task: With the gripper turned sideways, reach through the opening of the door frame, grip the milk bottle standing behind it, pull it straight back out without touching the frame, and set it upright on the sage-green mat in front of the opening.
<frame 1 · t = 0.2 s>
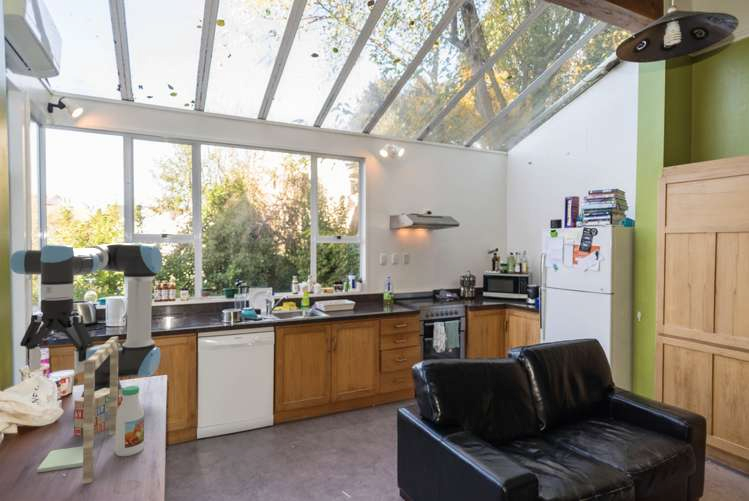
hand: (56, 371, 120), 28 cm above the worktop, tool pointing down, fingers open, 13 cm apart
sage mat: (67, 459, 124), on the worktop
stack of blocks: (107, 424, 149), on the worktop
door frame: (102, 454, 127), on the worktop
milk bottle: (129, 451, 130), on the worktop
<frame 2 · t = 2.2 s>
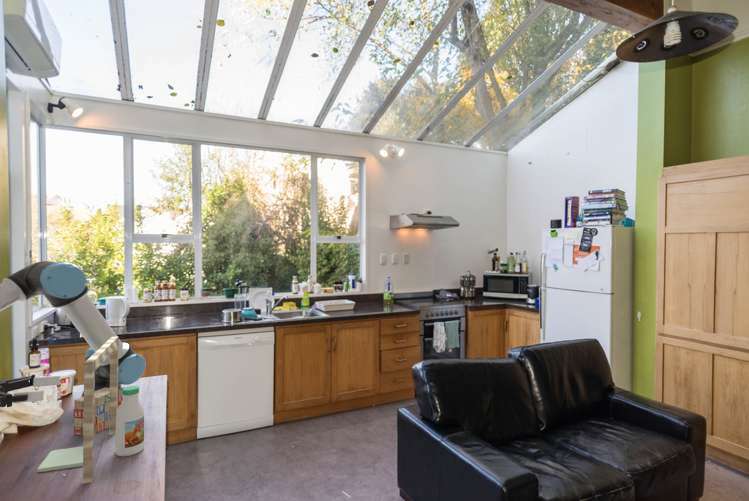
hand: (52, 387, 122), 22 cm above the worktop, tool horizontal, fingers open, 13 cm apart
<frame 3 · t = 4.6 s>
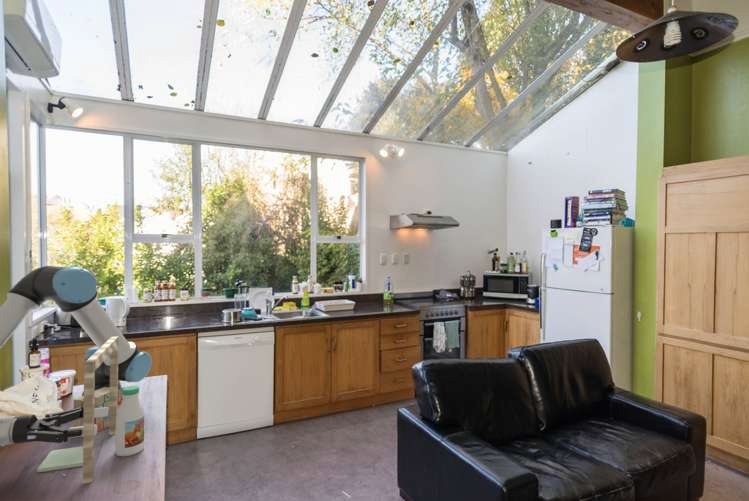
hand: (102, 420, 126), 11 cm above the worktop, tool horizontal, fingers open, 13 cm apart
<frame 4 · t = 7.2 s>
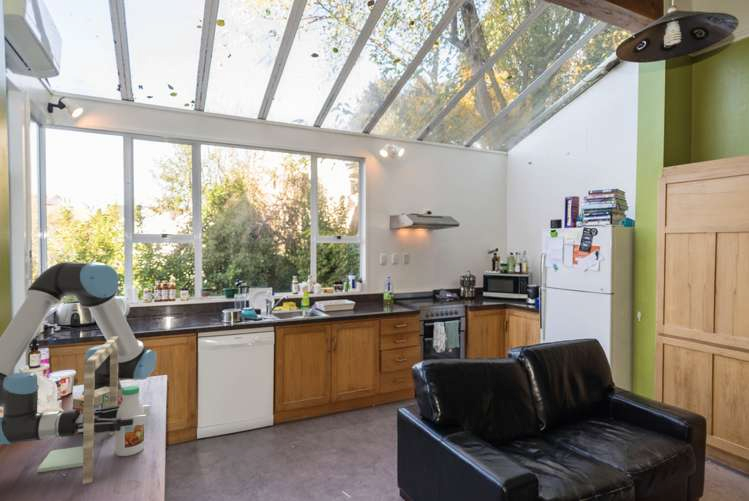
hand: (147, 414, 131), 11 cm above the worktop, tool horizontal, fingers closed on milk bottle, 7 cm apart
milk bottle: (129, 451, 130), on the worktop, touching gripper
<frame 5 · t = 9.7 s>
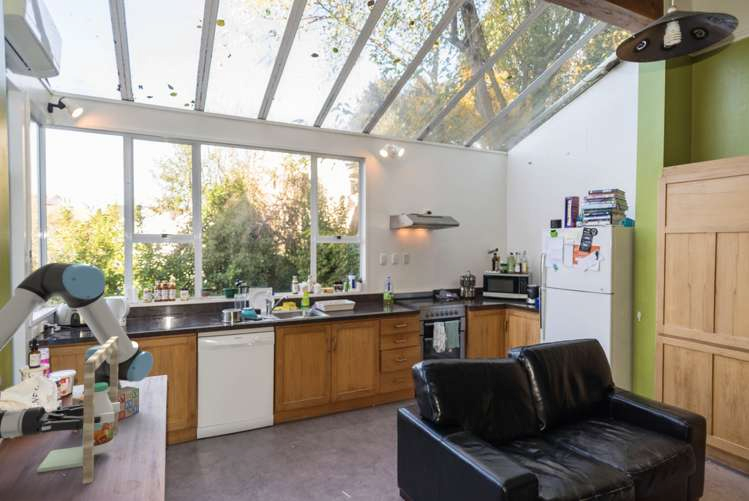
hand: (116, 411, 128), 13 cm above the worktop, tool horizontal, fingers closed on milk bottle, 7 cm apart
milk bottle: (98, 450, 126), point 2 cm above the worktop, touching gripper
when the fingers open (13 cm above the worktop, at t = 12.2 s): milk bottle stays where it is, resting on sage mat.
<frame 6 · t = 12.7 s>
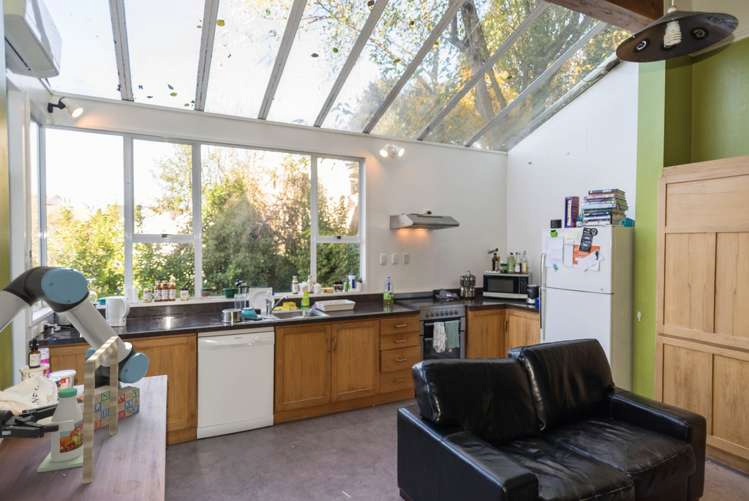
hand: (80, 415, 125), 13 cm above the worktop, tool horizontal, fingers open, 13 cm apart
milk bottle: (66, 456, 124), point 1 cm above the worktop, touching sage mat
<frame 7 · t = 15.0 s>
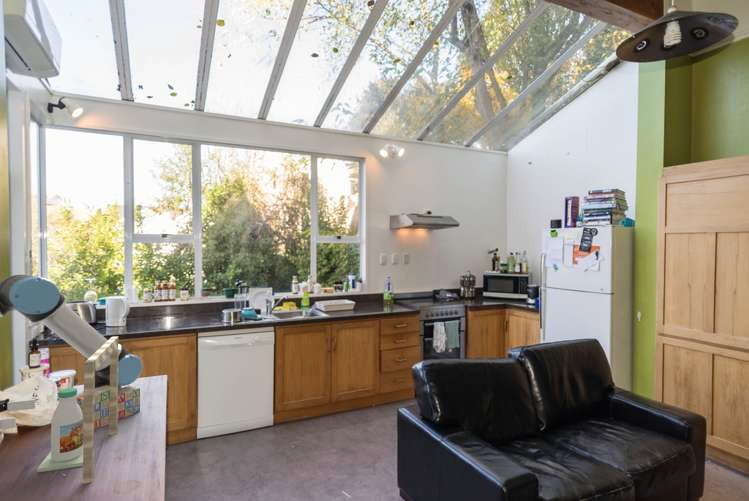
hand: (25, 412, 120), 15 cm above the worktop, tool horizontal, fingers open, 13 cm apart
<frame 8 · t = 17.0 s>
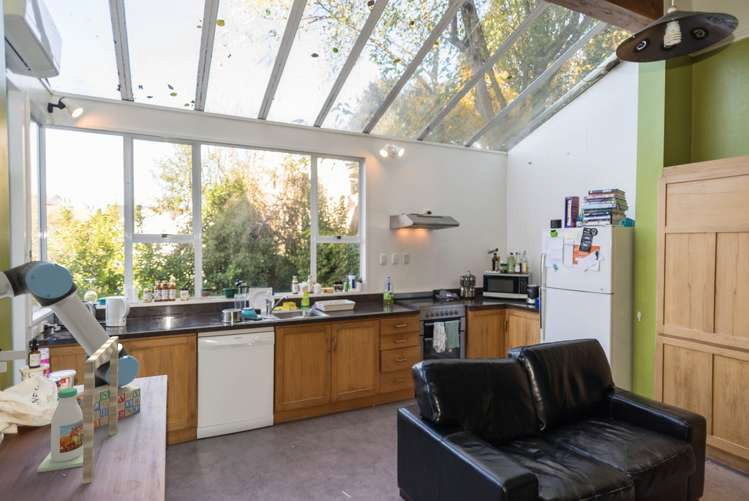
hand: (17, 360, 122), 30 cm above the worktop, tool horizontal, fingers open, 13 cm apart
at the end: milk bottle inside the target area on the sage mat (0.1 cm from its centre), point 0.8 cm above the sage mat's base; milk bottle tilted 0°; milk bottle touching sage mat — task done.
